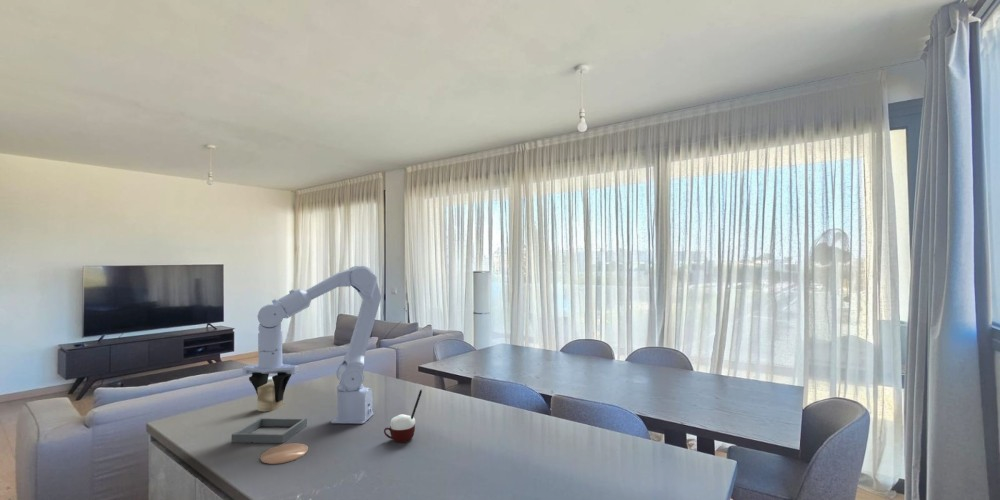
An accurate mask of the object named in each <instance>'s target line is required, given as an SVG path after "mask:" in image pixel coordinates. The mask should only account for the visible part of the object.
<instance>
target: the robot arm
mask: <svg viewBox="0 0 1000 500" xmlns="http://www.w3.org/2000/svg"><path fill="white" fill-rule="evenodd" d="M377 279H378V278H377V276H376V274H375V273H374V272H373V270H372V269H370V268H369V267H368V266H365V265H359V266H358V265H356V266H352V267H349V268H346V269H344V270H342V271H340V272H337V273H335V274H332V275H331V276H329V277H328V278H325V279H324V280H322V281H319V283H317V284H315V285H312V286H311V287H310V288H307V289H301V288H297V289H294V288H293V289H291V290H289V292H288V294H285V295H284V296H282V297H280V298H278V299H276V298H274V299H272V300H271V303H270V304H269V303H268V304H265V305H263V306H262V307H261V308H260V309H259V311H258V312H257V313H258V314H257V320H258V323H259V325H258V331H259V332H258V334H257V343H258V344H257V347H258V348H257V353H258V354H257V355H258V356H257V358H258V359H257V360H258V361H257V363H258V364H253V365H252V364H251V365H245V366H243V367H242V375H248V374H249V375H250V374H251V376H249V377H248V380H249V382H250V383H251V384H252V386H253V388H254V390H255V393H256V395H257V397H258V387H260V386H262V385H265V384H267V381H268V377H270V376H269V375H270V374H276V375H273V376H271V377H272V379H273V382H274V387H275V400H276V402H279V401H281V400H283V401H284V394H285V390H286V387H287V385H288V382H289V380H290V379H291V377H292V375H296V374H299V373H300V372H299V370H300V369H299V365H298V364H297V365H296V364H288V363H287V364H286V363H283V330H282V321H283V319H289V318H291V317H292V316H294V315H296V314H298V313H300V312H302V311H303V310H305V309H307V308H309V307H310V305H311V302H312V301H313V300H315V299H316V298H318V297H321V296H322V295H324V294H327V293H328V292H331V291H332V290H334V289H337V288H339V287H341V288H343V287H345V288H346V287H348V288H349V287H351V288H353V289H354V290H356V292H357V293H358V295H359V296H360V298H361V300H362V301H361V305H360V308H359V311H358V314H357V318H356V322H355V325H354V328H353V332H352V334H351V335H352V336H351V337H350V343H349V346H348V349H347V352H346V354H345V355H344V357H343V360H342V362H341V364H340V365H339V366H338V367H337V369H336V373H335V374H336V378H337V380H339V381H340V382H339V383H338V385H337V387H336V417H335V418H334V419H333V420H331V421H330V422H331V424H356V425H357V424H364V423H366V422H367V420H369V419H370V418H371V417H372V416H373V415H374V414H375V413H374V411H373V406H374V405H373V403H374V402H373V399H374V397H373V389H372V388H370V387H366V386H364V384H363V383H364V380H365V375H364V368H365V356H366V352H367V349H368V346H369V342H370V338H371V334H372V331H373V327H374V324H375V321H376V318H377V317H376V316H377V313H378V311H379V307H380V304H381V300H382V295H381V291H380V288H379V285H378V280H377Z"/></svg>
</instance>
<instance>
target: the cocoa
mask: <svg viewBox="0 0 1000 500" xmlns="http://www.w3.org/2000/svg"><path fill="white" fill-rule="evenodd" d="M422 393H423V390H422V389H419V392H418V395H417V398H416V400H415V404H414V407H413V411H412V413H411V415H408V414H398V415H396V416H394V417H392V418H390V425H389V427H385V428H384V429H383V433H384V435H385V436H386V438H388V439H390V440H393V441H394V442H395V443H398V444H401V443H403V444H404V443H407V442H409V441H411V439H413V437H414V435H415V430H416V419H415V417H414V416H415V414H416V410H417V408H418V404H419V402H420V400H421V396H422ZM387 430H389V432H390V435H389V434H388V433H387V432H386V431H387Z"/></svg>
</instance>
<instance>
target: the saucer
mask: <svg viewBox="0 0 1000 500" xmlns="http://www.w3.org/2000/svg"><path fill="white" fill-rule="evenodd" d="M308 450H309V447H308V446H307V445H306V444H304V443H299V442H296V443H295V442H294V443H293V442H292V443H291V442H290V443H283V444H280V445H277V446H273V447H271V448H269V449H266V450H265V451H264V452H262V453H261V455H260V461H261V462H262V463H263V462H264V463H263V464H266V463H267V464H266V465H279V464H280V465H281V464H285V463H290V462H293V461H296V460H298V459H300V458H302V457H304V456H306V455H307V453H308V452H309V451H308Z"/></svg>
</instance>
